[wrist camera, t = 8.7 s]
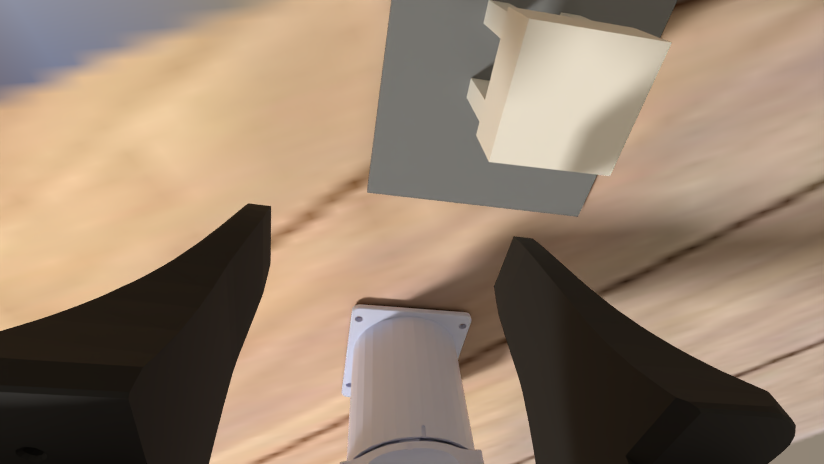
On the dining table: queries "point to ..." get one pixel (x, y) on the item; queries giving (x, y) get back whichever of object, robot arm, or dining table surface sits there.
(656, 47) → the cream block with pegs
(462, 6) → the mat
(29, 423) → the robot arm
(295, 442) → the dining table surface
